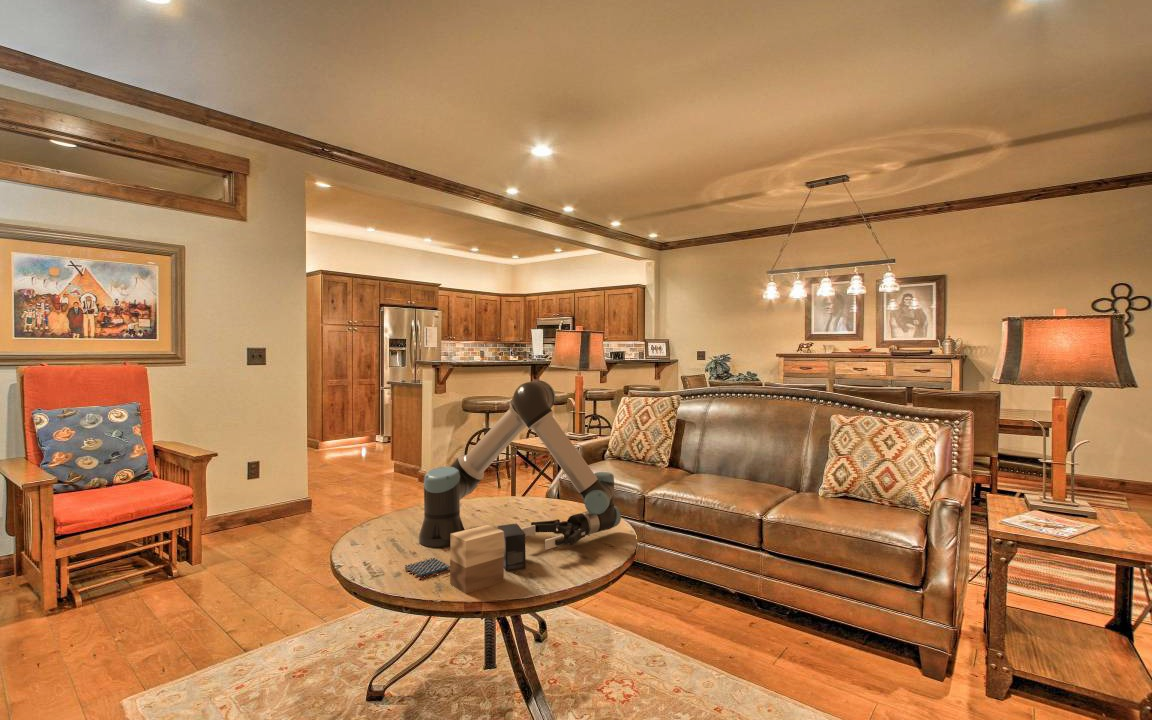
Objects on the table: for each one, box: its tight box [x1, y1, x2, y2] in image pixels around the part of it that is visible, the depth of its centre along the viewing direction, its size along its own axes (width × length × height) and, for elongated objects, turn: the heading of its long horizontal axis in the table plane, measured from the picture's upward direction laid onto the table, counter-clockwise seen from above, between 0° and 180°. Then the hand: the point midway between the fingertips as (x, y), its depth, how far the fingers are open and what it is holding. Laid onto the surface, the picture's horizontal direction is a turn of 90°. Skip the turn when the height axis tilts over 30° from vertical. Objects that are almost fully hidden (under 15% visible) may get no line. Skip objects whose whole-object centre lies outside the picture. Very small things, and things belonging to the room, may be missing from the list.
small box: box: [497, 523, 527, 572], centre depth 167 cm, size 11×6×10 cm, turn 21°
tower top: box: [449, 524, 504, 568], centre depth 153 cm, size 8×12×7 cm, turn 132°
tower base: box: [449, 557, 505, 595], centre depth 153 cm, size 8×12×7 cm, turn 132°
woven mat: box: [404, 557, 450, 581], centre depth 162 cm, size 10×11×2 cm
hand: (531, 539), depth 171 cm, fingers open, 13 cm apart
